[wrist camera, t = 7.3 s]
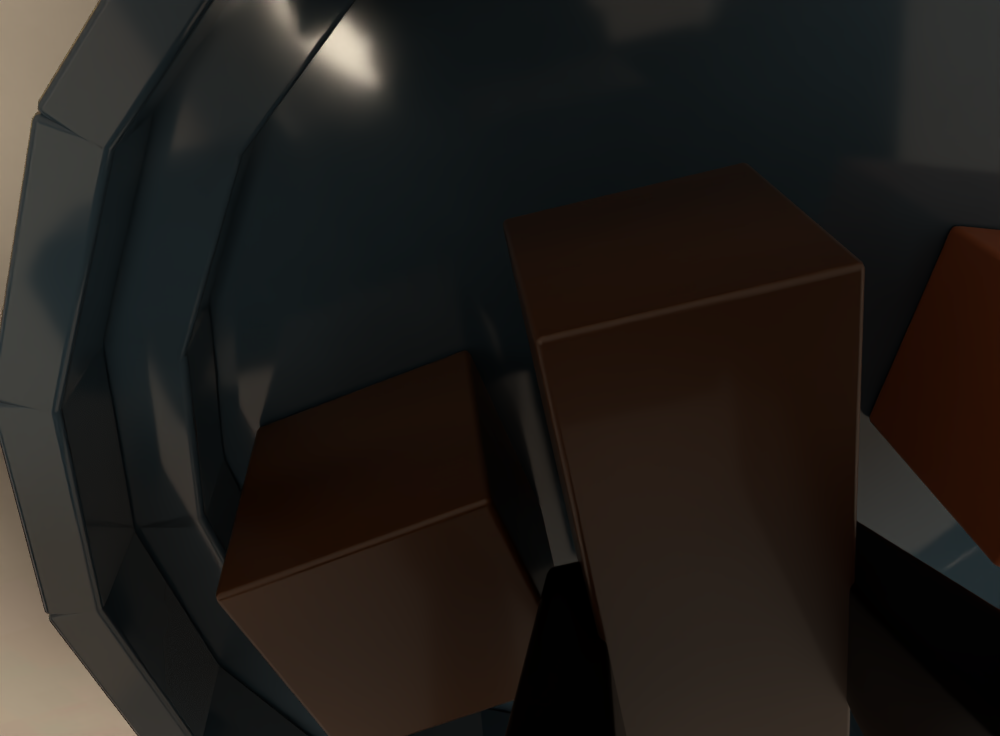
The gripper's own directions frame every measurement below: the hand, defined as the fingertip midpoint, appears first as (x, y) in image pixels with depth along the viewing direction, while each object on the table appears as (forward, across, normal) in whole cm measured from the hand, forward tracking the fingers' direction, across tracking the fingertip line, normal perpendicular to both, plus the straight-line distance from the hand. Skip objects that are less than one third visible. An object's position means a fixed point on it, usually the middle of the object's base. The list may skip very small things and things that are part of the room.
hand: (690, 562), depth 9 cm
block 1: (+3, +3, 0) cm, 4 cm away
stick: (+1, 0, 0) cm, 1 cm away
